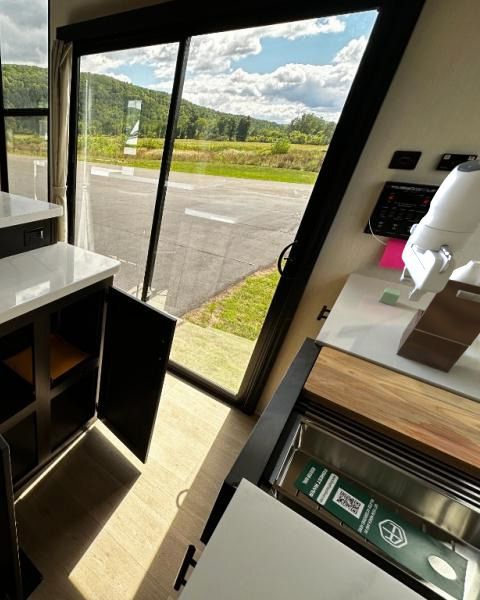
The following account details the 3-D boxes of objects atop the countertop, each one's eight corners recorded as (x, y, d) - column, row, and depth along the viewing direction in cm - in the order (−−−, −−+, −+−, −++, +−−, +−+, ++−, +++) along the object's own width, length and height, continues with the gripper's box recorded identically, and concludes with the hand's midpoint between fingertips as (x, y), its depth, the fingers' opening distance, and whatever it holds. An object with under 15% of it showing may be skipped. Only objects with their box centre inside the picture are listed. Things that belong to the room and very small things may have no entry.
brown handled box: (445, 278, 86) (446, 281, 83) (509, 292, 79) (512, 297, 76) (414, 327, 93) (413, 332, 89) (470, 345, 86) (471, 351, 82)
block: (380, 297, 125) (386, 287, 123) (395, 301, 122) (401, 291, 120) (378, 301, 123) (384, 291, 120) (393, 305, 120) (399, 295, 117)
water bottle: (420, 330, 107) (466, 264, 94) (414, 320, 112) (456, 255, 99) (455, 337, 104) (508, 269, 90) (447, 326, 109) (496, 260, 95)
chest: (402, 332, 107) (418, 308, 101) (450, 348, 100) (470, 323, 94) (396, 354, 98) (413, 329, 93) (447, 372, 91) (469, 346, 86)
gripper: (476, 258, 62) (436, 315, 70) (446, 226, 77) (415, 276, 84) (433, 252, 65) (399, 307, 73) (411, 222, 80) (385, 271, 87)
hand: (408, 290), depth 78 cm, fingers open, 8 cm apart
